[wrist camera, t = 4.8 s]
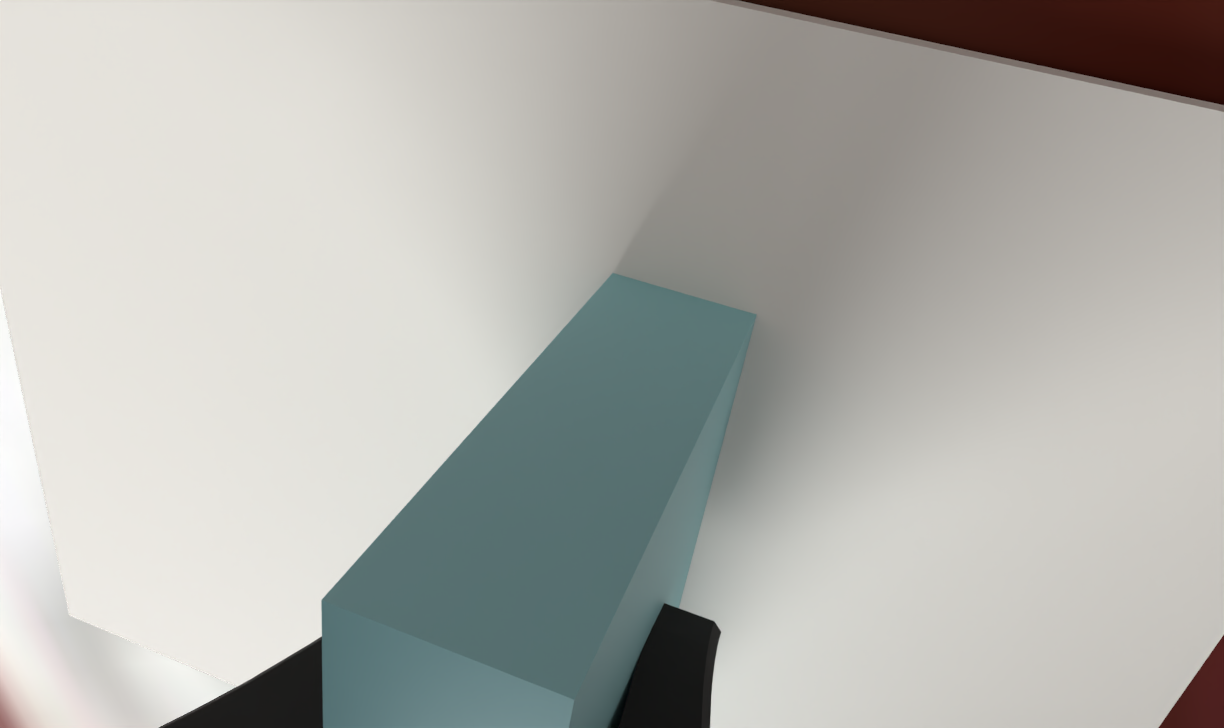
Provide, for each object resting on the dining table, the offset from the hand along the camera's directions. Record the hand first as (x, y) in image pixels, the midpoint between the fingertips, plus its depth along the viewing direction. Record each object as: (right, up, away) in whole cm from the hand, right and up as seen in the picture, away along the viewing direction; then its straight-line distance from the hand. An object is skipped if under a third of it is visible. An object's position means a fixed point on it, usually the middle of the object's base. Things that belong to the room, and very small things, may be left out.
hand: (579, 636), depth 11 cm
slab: (+1, +1, +2) cm, 2 cm away
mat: (-1, +2, +3) cm, 3 cm away
